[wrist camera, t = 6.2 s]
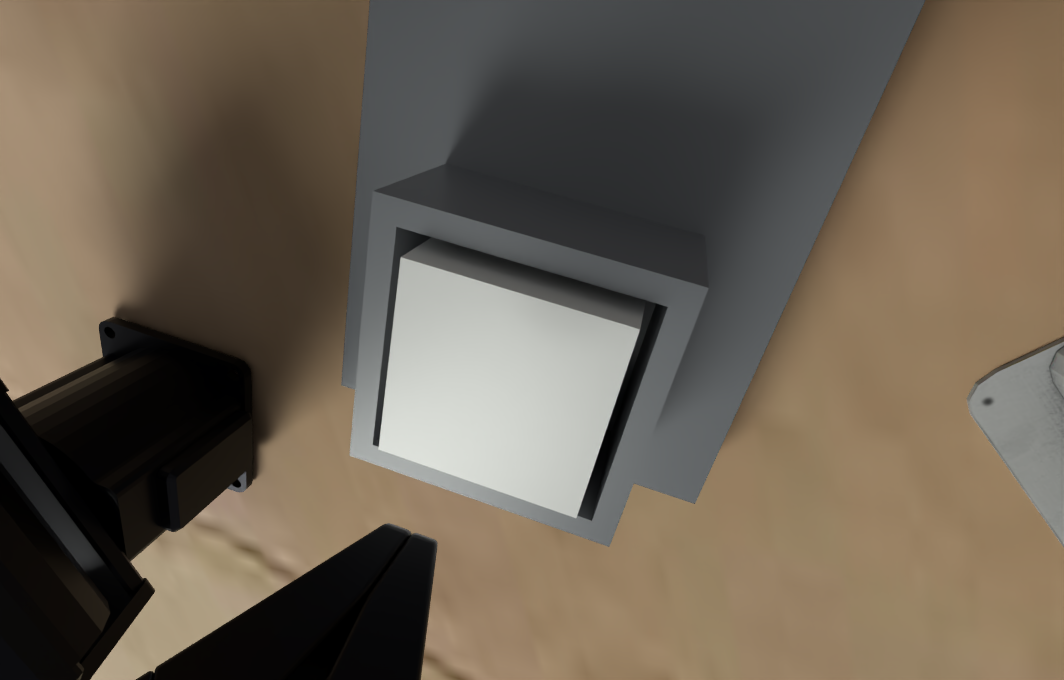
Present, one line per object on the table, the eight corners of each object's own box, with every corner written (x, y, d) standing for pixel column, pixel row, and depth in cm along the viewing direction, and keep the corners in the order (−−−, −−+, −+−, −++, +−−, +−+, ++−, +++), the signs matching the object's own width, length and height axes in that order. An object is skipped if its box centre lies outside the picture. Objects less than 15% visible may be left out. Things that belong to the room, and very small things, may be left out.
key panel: (370, 359, 21) (263, 454, 16) (467, -617, 11) (266, -1236, 6) (694, 465, 20) (695, 609, 14) (1140, -550, 10) (1680, -1298, 4)
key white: (427, 389, 17) (378, 449, 14) (454, 223, 14) (400, 257, 12) (594, 445, 16) (576, 518, 13) (649, 280, 14) (640, 329, 11)
